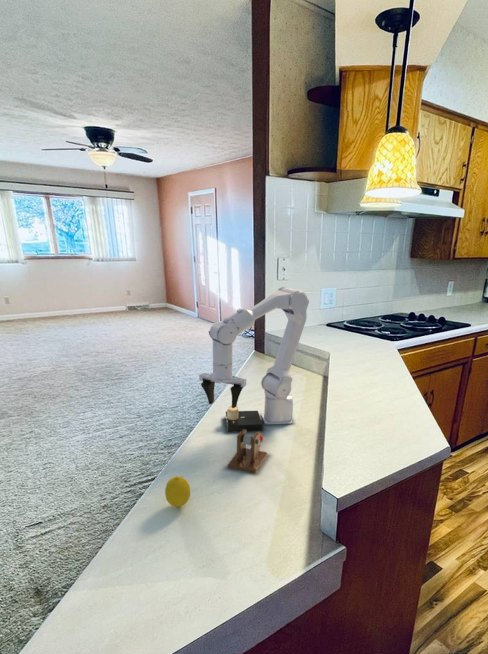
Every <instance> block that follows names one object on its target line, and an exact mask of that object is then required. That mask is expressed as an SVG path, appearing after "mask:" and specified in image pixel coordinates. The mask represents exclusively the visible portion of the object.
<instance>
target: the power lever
mask: <svg viewBox="0 0 488 654" xmlns="http://www.w3.org/2000/svg"><path fill="white" fill-rule="evenodd" d="M253 436H254V434H253V435H252V434H246V435H244V438H243V444H246V446H251V438H252V437H253ZM263 441H264V435H263V434H262V433H260V444H261V443H262V442H263Z"/></svg>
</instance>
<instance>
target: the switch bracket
mask: <svg viewBox="0 0 488 654" xmlns="http://www.w3.org/2000/svg"><path fill="white" fill-rule="evenodd" d="M260 434H261V431H255V433H254V434H253V437H252V438H251V445H250V448H247V444H243V438H244V435H247V431H246V429H243V430H242V431H241V432H238V434H237V436H236V453H235V455H234V456H233V457H232V459H231V460H230V461H229V462H228V464H227V468H228V469H233V470H237V471H243V472H247V473H253V474H257V472H258V470H259V469H260V467H261V466H262V465H263V463H264V461H265V460H266V458H268V452H267V451H261V450H260V445H261V443H260Z"/></svg>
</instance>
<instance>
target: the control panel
mask: <svg viewBox="0 0 488 654" xmlns="http://www.w3.org/2000/svg"><path fill="white" fill-rule="evenodd" d="M220 419H221V420H222V419H224V420H225V422H226V429H227V433H240V432H241V431H242V430H243V429H246V432H262V431H263V423H262V419H261V416H260V413H259V410H238V419H237V420H229V419H228V418H227V411H225V417H220Z"/></svg>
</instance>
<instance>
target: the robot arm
mask: <svg viewBox="0 0 488 654" xmlns="http://www.w3.org/2000/svg"><path fill="white" fill-rule="evenodd" d="M309 303H310V300H309V298H308V296H307V294H306V293H305V292H304V291H303V290H297V289H293V288H289V287H286V286H280V287H279V288H277V289H274V290H273V291H272V293H270V295H268V296H266V297H265V298H264V299H262V300H261V301H260V302H258V303H257V304H255V305H253V306H252V307H251V308H249V309H247V308H238V309H236V312H235V313H233V314H231V315H230V316H228V317H227V316H226V317H224V318H223V320H222V321H220V320H219V321H215V322H213V323H212V324H211V326H210V328H209V330H208V335H209V337H210V338H211V341H212V373H211V372H201V373H199V375H198V378H199V379H198V380H199V381H201V383H200V384H201V385H200V386H201V388H202V389H203V391H204V393H205V395H206V397H207V402H208V404H209V405H212V404H213V403H214V402H215V385H216V384H226V385H231V387H230V394H231V406H232V408H235V407H238V401H239V397H240V396H241V392H242V390H243V389H244V388H245V387H246V386H247V379H246V378H243V377H239V376H235V375H233V343H235V341H236V339H237V336H239V335H240V334H242V333H243V332H245V331H247V330H248V329H250V328H251V327H253V326H254V325H255V322H256V320H257V319H259V318H261V317H263V316H265V315H266V314H268V313H270V312H272V311H274V310H276V309H278V310H279V309H280V310H281V311H283V312H284V314H285V316H286V318H287V323H286V326H285V329H284V332H283V335H282V338H281V341H280V345H279V347H278V351H277V353H276V357H275V360H274V363H273V365H272V366H270V367H268V368H267V370H266V373H265V374H264V376H262V378H261V381H260V385H261V388H262V390H264V412H263V413H261V418H262V421H263V424H264V425H288V424H290V425H291V424H293V410H294V400H293V396H292V395H291V391H292V382H293V377H292V374H291V372H290V370H291V367H292V365H293V360H294V358H295V355H296V351H297V348H298V346H299V343H300V340H301V337H302V333H303V331H304V328H305V325H306V322H307V309H308V307H309Z"/></svg>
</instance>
